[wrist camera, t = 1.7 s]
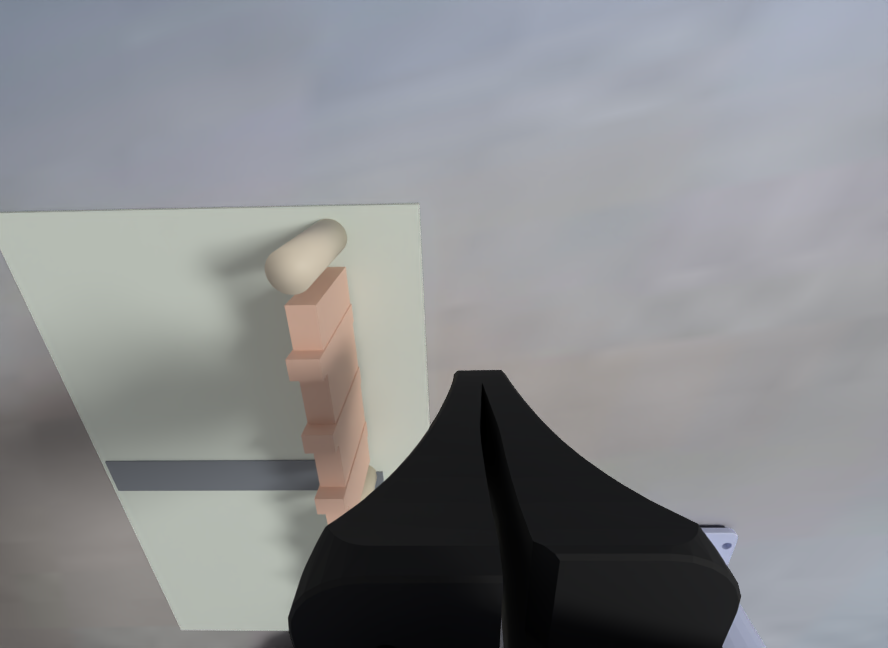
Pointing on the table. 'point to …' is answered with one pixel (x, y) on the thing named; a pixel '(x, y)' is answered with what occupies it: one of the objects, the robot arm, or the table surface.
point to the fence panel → (324, 362)
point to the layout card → (218, 380)
